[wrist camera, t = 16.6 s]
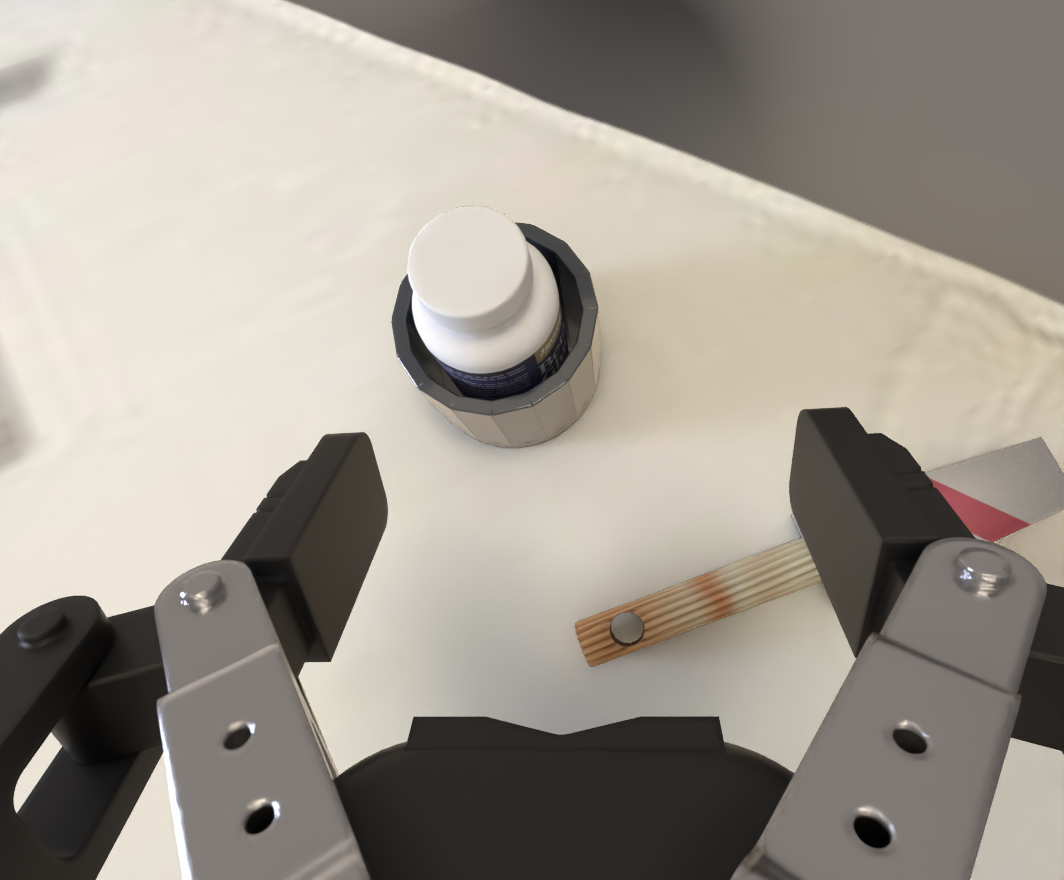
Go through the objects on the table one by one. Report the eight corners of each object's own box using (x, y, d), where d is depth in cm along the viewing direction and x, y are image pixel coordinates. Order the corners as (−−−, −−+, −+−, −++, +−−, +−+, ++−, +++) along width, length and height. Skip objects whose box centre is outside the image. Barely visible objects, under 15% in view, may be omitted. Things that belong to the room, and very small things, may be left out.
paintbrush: (1116, 512, 23) (596, 695, 25) (1067, 518, 26) (600, 683, 27) (1059, 415, 24) (561, 598, 26) (1017, 431, 27) (569, 595, 28)
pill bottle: (573, 416, 29) (553, 332, 19) (456, 424, 30) (382, 346, 20) (568, 305, 30) (546, 175, 21) (455, 314, 31) (385, 193, 21)
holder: (579, 271, 31) (571, 199, 26) (617, 426, 29) (617, 386, 24) (421, 310, 32) (379, 248, 26) (448, 464, 30) (409, 434, 24)
